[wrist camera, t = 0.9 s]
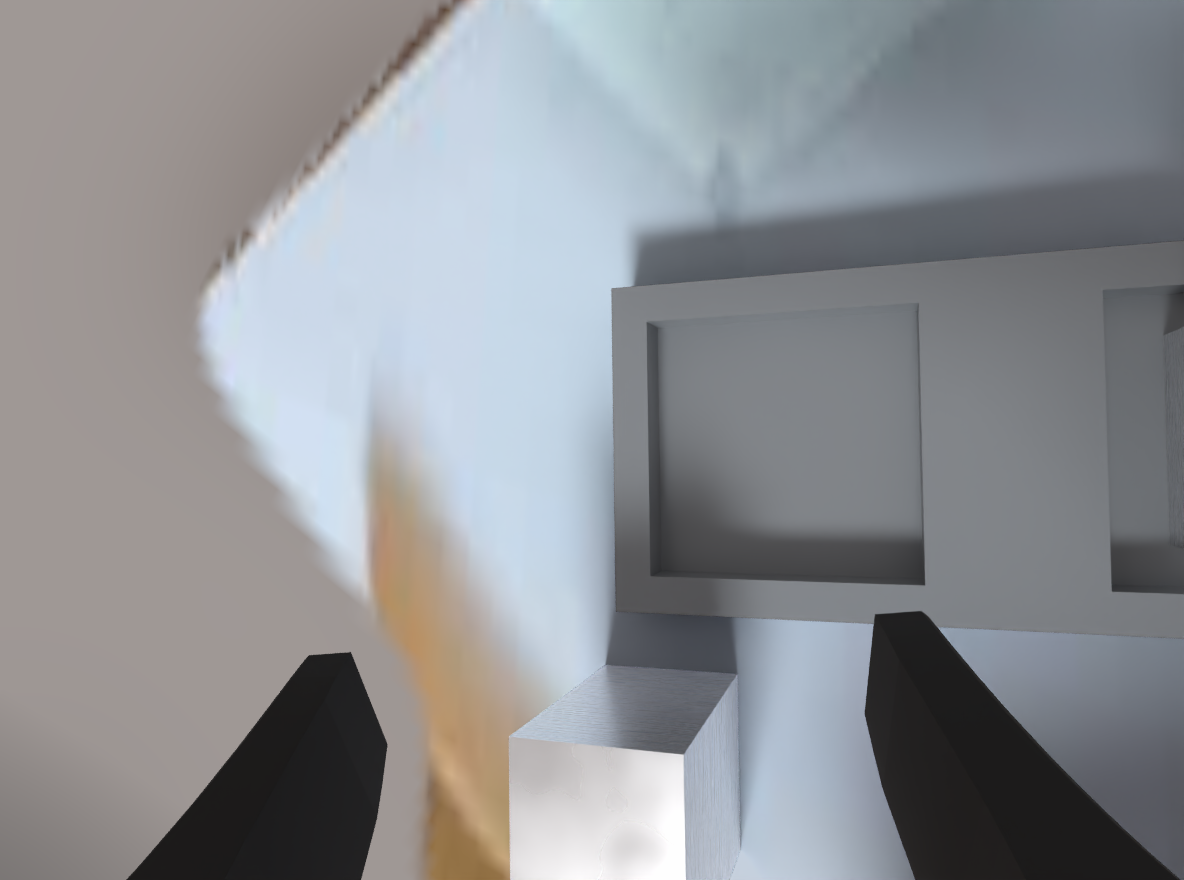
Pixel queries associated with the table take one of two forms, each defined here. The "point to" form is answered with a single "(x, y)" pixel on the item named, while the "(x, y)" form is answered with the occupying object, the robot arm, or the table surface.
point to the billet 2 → (1175, 432)
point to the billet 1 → (629, 779)
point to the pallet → (903, 443)
